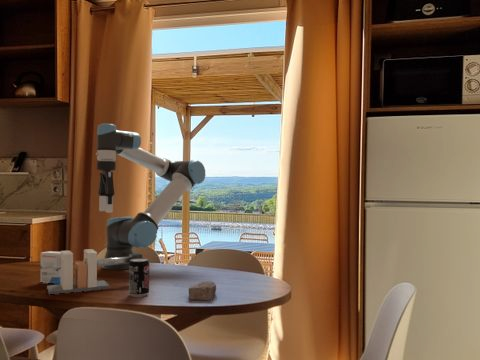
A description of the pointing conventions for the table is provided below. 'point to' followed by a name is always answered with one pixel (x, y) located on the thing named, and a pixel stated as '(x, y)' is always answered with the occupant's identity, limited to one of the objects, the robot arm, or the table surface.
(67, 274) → the jig
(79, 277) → the spacer
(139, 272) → the beverage can
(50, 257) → the ink box
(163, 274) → the table surface
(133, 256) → the shaft
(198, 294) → the stone
